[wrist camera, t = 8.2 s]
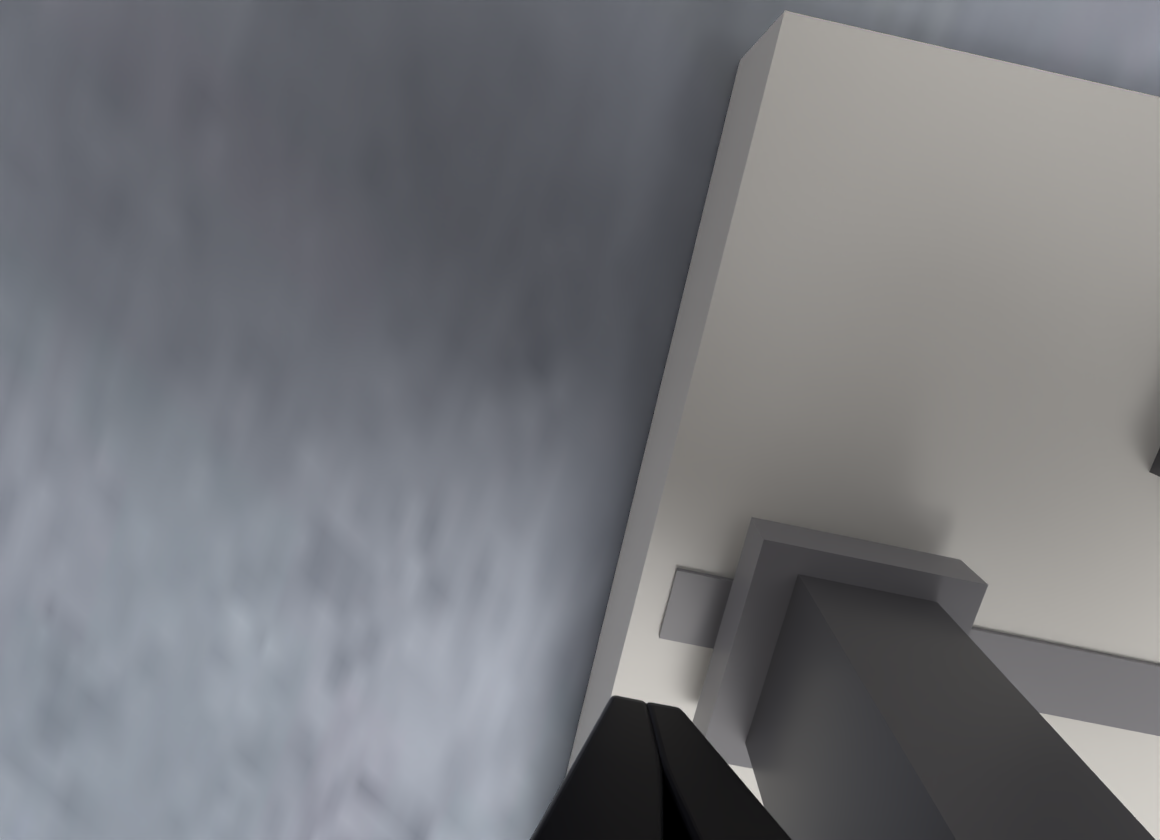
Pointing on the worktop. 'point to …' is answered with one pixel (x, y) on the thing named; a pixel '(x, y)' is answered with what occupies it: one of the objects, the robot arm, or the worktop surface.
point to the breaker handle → (884, 702)
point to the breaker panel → (919, 372)
